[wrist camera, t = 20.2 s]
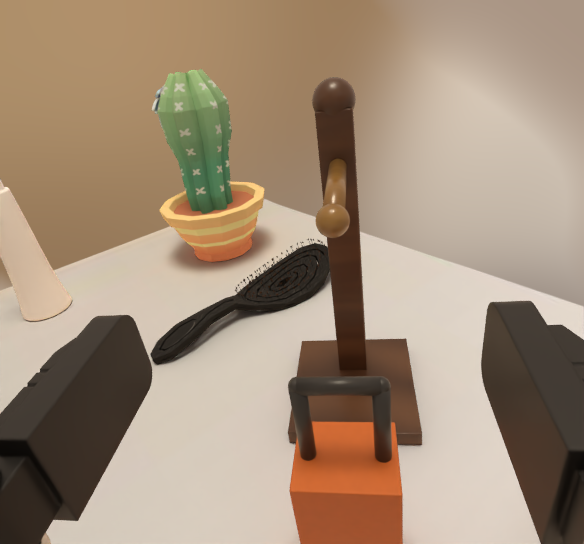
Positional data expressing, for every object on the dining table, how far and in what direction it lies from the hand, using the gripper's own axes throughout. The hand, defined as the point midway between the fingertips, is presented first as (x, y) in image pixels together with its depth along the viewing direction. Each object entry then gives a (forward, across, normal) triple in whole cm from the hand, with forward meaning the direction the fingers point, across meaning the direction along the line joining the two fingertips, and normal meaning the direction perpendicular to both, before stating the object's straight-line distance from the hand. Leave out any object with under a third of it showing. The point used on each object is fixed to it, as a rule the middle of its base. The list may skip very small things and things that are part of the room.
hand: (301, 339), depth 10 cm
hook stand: (+18, 0, +22) cm, 29 cm away
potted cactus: (+50, +20, +22) cm, 58 cm away
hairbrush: (+33, +12, +22) cm, 42 cm away
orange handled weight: (+6, 0, +22) cm, 23 cm away
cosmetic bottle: (+35, +40, +22) cm, 58 cm away
